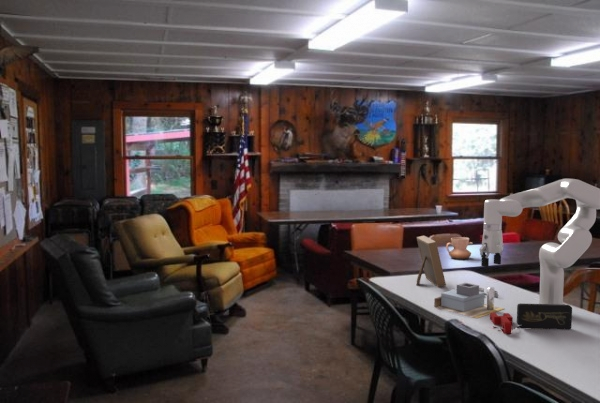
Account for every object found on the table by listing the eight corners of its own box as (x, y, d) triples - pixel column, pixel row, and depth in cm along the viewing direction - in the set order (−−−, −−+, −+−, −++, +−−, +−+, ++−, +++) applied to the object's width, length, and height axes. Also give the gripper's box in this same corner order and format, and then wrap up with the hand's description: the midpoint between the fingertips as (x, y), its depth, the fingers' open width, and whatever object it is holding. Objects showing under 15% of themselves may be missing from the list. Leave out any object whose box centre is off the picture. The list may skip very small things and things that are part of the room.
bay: (504, 312, 236) (504, 300, 236) (476, 321, 223) (476, 309, 222) (462, 301, 254) (462, 290, 253) (434, 310, 240) (434, 298, 239)
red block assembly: (489, 322, 222) (489, 311, 222) (507, 323, 221) (507, 311, 221) (498, 335, 206) (499, 322, 206) (517, 336, 206) (518, 323, 205)
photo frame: (433, 277, 304) (433, 235, 302) (446, 287, 283) (446, 241, 280) (408, 278, 303) (408, 235, 301) (419, 287, 282) (419, 242, 279)
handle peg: (495, 309, 235) (495, 287, 234) (491, 311, 233) (492, 289, 232) (489, 308, 237) (489, 286, 236) (485, 309, 235) (486, 287, 235)
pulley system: (496, 293, 274) (466, 289, 278) (497, 284, 273) (466, 280, 278) (500, 309, 248) (466, 305, 252) (501, 299, 247) (467, 295, 251)
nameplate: (569, 328, 214) (570, 304, 213) (571, 330, 212) (572, 305, 211) (516, 327, 216) (517, 303, 215) (517, 328, 214) (518, 304, 213)
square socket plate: (484, 305, 241) (484, 284, 240) (463, 311, 231) (464, 289, 230) (461, 299, 250) (462, 279, 250) (440, 305, 240) (441, 284, 240)
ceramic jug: (469, 256, 370) (469, 236, 369) (475, 260, 355) (475, 239, 354) (443, 256, 371) (443, 236, 370) (448, 260, 357) (448, 239, 356)
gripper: (489, 229, 224) (487, 269, 225) (510, 226, 235) (509, 264, 236) (473, 227, 230) (472, 266, 231) (495, 225, 240) (494, 261, 242)
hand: (491, 265), depth 234 cm, fingers open, 9 cm apart
